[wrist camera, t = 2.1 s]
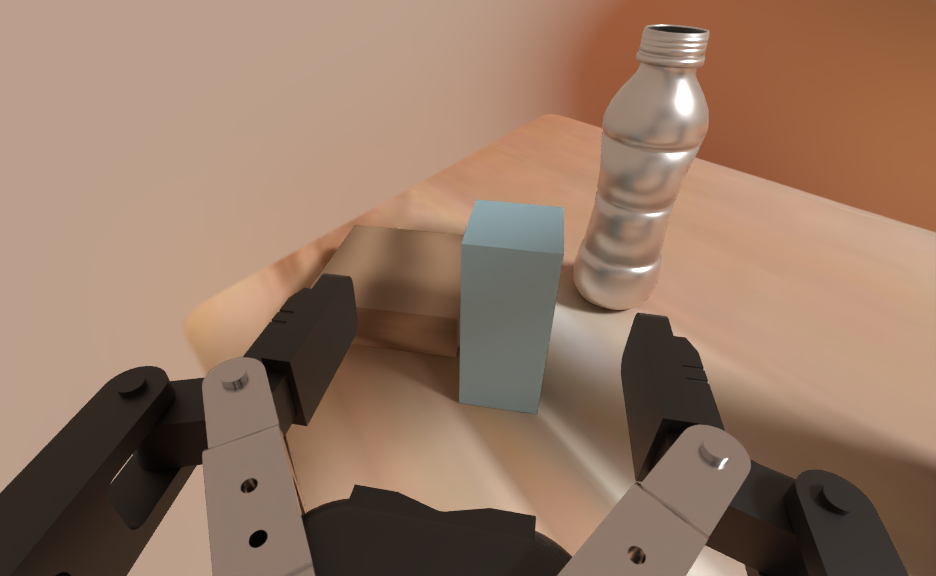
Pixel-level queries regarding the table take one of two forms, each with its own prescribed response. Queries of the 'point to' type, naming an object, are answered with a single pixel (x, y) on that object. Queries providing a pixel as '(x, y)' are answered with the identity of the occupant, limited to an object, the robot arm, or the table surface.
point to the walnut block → (403, 288)
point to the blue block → (508, 302)
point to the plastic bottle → (643, 167)
